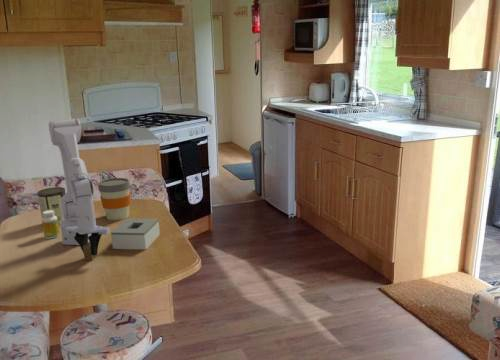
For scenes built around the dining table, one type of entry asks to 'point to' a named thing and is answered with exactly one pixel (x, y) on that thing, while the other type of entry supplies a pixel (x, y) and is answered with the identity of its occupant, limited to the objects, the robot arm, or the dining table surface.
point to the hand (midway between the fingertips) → (90, 254)
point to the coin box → (135, 234)
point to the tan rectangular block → (88, 252)
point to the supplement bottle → (50, 225)
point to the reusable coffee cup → (115, 197)
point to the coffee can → (52, 201)
